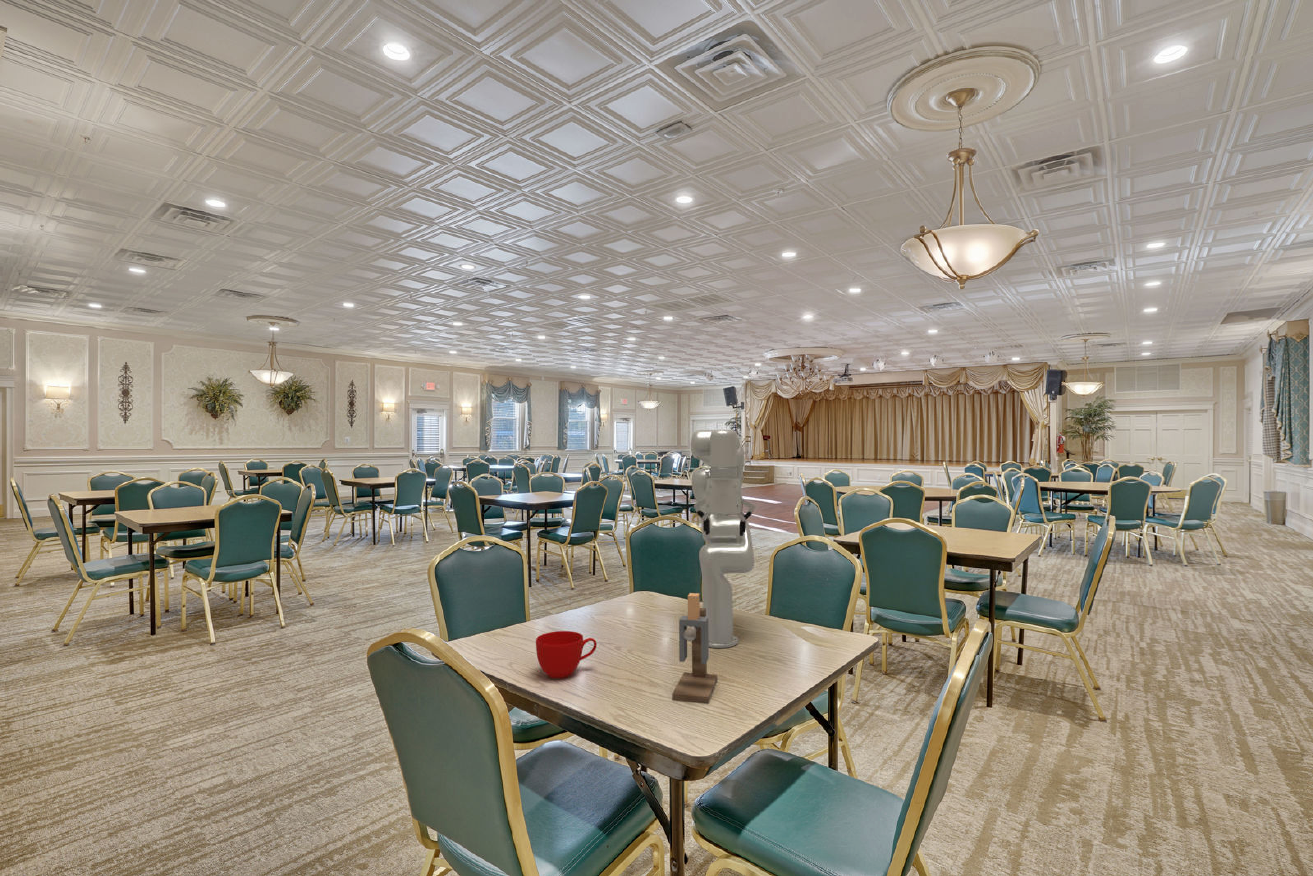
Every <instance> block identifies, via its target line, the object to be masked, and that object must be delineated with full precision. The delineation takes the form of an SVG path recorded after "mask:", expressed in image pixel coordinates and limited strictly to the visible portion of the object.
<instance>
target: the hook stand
mask: <svg viewBox="0 0 1313 876" xmlns="http://www.w3.org/2000/svg"><path fill="white" fill-rule="evenodd" d="M700 617H706V608H703V607H700ZM684 638H685V639H686V640H687V642H691V671H692V672H688V671H684V672H683V673H682V675H681V677H680V679H679V681H678V683H677V684H676V686H675V688H674V690H673V692H672V694H671V700H672V701H677V702H690V703H699V704H701V703H702V704H709V703H710V700H711V699H712V695H713V694H714V690H715V687H716V686H717V683H718V674H714V673H708V671H707V669H708V668H707V666H708V662H707V663H706V664H702V663H701V627H693V626H689V628H688V627H687V629H686V630H685V632H684Z"/></svg>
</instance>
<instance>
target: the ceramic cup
mask: <svg viewBox="0 0 1313 876" xmlns="http://www.w3.org/2000/svg"><path fill="white" fill-rule="evenodd" d="M589 642H593V647H592V648H591V649H590V651H589V652H587V653H586V654H584V655H582V654H583V649H584V647H585V645H586V644H587V643H589ZM596 649H597V640H595V639H594V638H593V637H588V638H585V639H584V636H583V634H581V633H580V632H576V631H572V630H571V631H569V630H558V631H550V632H546V633H542V634H541V635H538V636H537V637H536V639H535V651H536V656H537V657H536V658H537V661H538V665H539V666H540V668H541V670H542V671H543V672H544V673H545V674H546V675H547V677H548V676H549V677H548V678H550V677H551V679H555V678H560V679H565V677H566V678H568V676H569V677H570V676H572V674H573V673H574V671H575V670H576V669H577V667H578V666H579V664H580V662H581V661H582V660H584V659H586V658H589V657H590V656H591V655H593V654H594V652H595V651H596Z"/></svg>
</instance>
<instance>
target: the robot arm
mask: <svg viewBox="0 0 1313 876" xmlns="http://www.w3.org/2000/svg"><path fill="white" fill-rule="evenodd" d="M740 438H741V437H740V435H738V433H737V431H735V430H734V429H733V430H732V429H700V430H696V431H694V432H693V433H692V435H691V438H690V452H691V455H692V457H693V458H694V459H697V460H700V461H701V462H702V463H703V464H704V465H705V466H708V467H704V468H702V467H701V468H699V469H696V470H694V472H693V473H692V474H691V489H692V493H693V496H694V499H695V501H696V503H695V504H694V505H693V507H694V510H695V512H696V514H697V516H699V518H700V523H701V534H702V539H703V540H704V542H705V543H707V544H704V545H702V546H701V547H700V550H699V554H698V557H699V565H700V571H701V580H702V583H701V584H702V585H701V586H702V608H706V617H708V637H709V648H715V649H716V648H717V649H724V648H731V647H734V646H736V645H738V643H739V639H738V637H737V636H736V635H734V625H733V623H734V622H733V621H734V618H733V616H734V615H733V587H732V584H731V582H730V581H729V580H728V578H727V577H726V576H725V574H740V573H741V574H742V573H743V574H745V573H750V572H751V571H752V570H753V569H754V568H755V567H754V566H755V555H754V547H753V546H754V545H753V541H752V534H751V528H750V527H751V526H750V524H749V520H748V519H749V518H750V517H751V516H752V514H753V512H754V510H755V509H756V505H755V504H753V503H752V502H749V501H748V500H745V498H744V499H743V494H742V493H743V491H742V485H743V476H744V465H745V451H744V447H743V446H742V444H741V440H740ZM744 506H745V507H747V508H748V510H747V512H746V513H745V514H744V512H743V509H744V508H743V507H744Z"/></svg>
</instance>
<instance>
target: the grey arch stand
mask: <svg viewBox="0 0 1313 876" xmlns="http://www.w3.org/2000/svg"><path fill="white" fill-rule="evenodd" d="M700 595H701V594H700V593H697V592H696V593H694V592H689V594H688V595H687V615H684V614H683V615H681V617H680V618H679V620H678V632H679V633H678V634H679V635H678V637H679V640H678V645H679V646H678V647H679V648H678V652H679V653H678V655H679V656H678V657H679V659H678V661H679V662H680V663H685V661H686V659H687V658H688V641H687V640H686V639H685V638H684V632H685V630H686V629H688V627H690V626H693V627H701V663H702V664H706V663H707V664H708V661H709V658H710V657H709V656H710V655H709V652H710V651H709V648H710V647H709V637H708V617H700V608H701V606H700V601H701V599H700V597H701V596H700Z"/></svg>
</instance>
